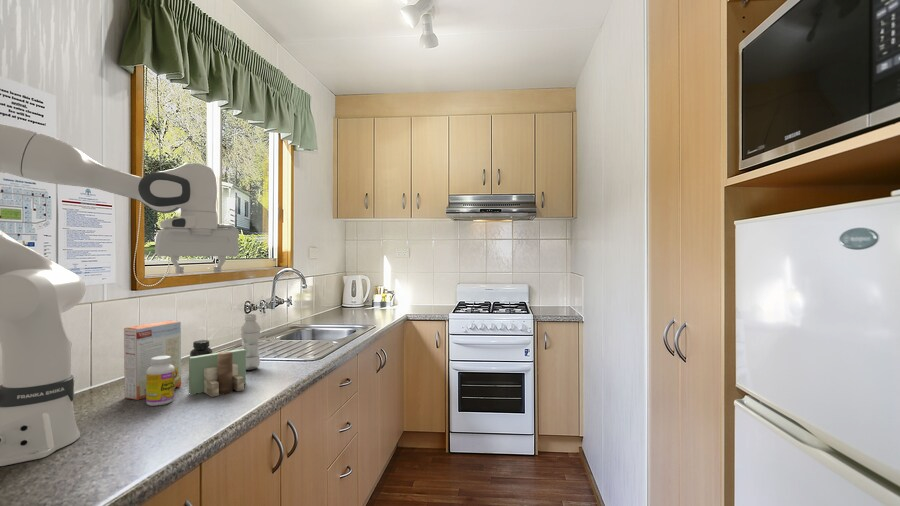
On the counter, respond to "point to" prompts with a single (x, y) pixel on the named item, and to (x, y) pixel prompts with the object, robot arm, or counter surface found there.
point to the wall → (208, 361)
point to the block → (212, 380)
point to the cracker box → (149, 354)
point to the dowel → (225, 372)
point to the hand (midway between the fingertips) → (199, 273)
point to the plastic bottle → (251, 341)
